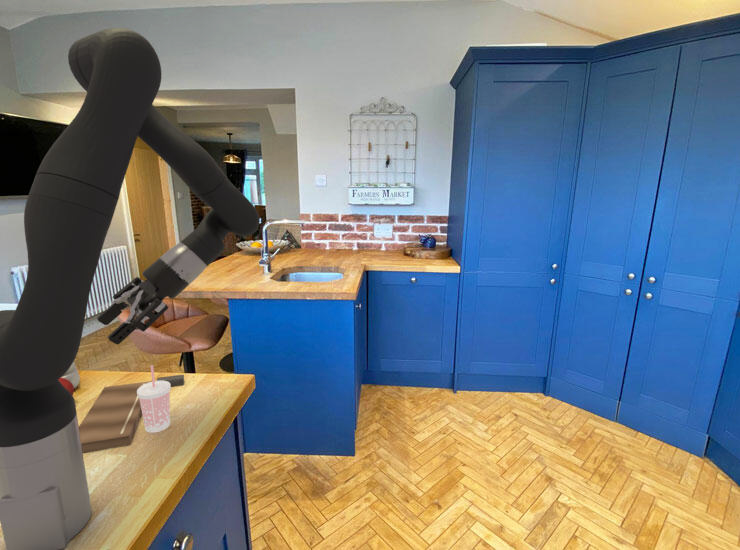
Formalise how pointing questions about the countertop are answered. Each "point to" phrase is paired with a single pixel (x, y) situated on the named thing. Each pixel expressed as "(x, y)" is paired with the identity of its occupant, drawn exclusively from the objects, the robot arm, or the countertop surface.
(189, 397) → the countertop surface
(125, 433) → the walnut board
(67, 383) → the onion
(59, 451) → the robot arm
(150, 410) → the beverage cup
